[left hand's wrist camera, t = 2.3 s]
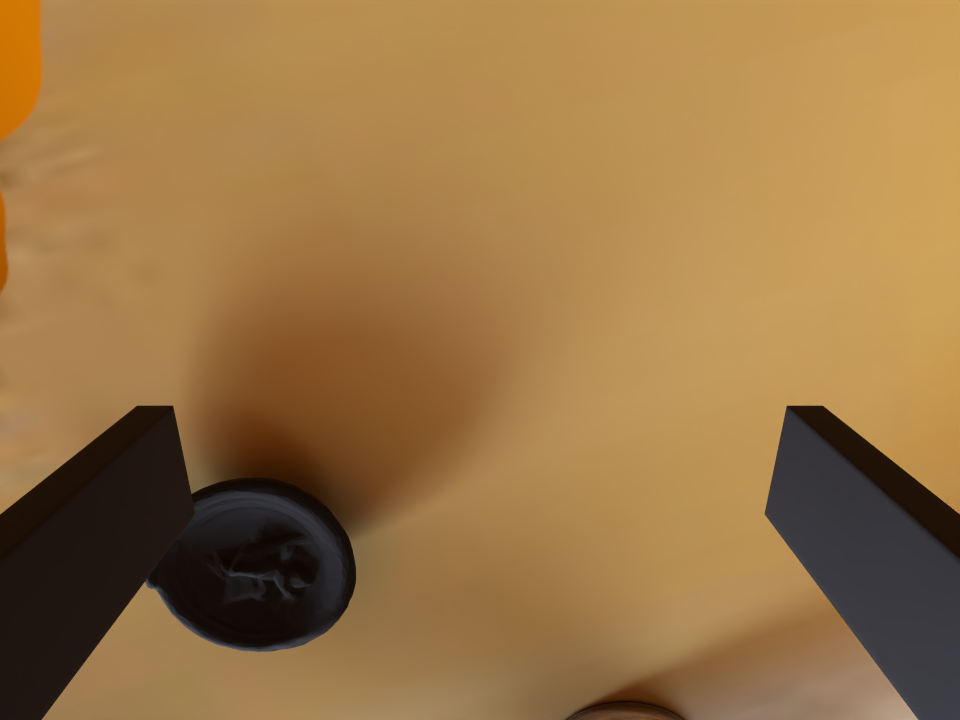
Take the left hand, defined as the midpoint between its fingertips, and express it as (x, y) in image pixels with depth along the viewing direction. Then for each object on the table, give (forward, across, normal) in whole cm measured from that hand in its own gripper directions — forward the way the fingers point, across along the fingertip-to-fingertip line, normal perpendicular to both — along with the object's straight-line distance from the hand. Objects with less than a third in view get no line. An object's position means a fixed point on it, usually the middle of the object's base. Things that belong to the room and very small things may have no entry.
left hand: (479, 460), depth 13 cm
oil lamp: (+28, +19, +22) cm, 40 cm away
